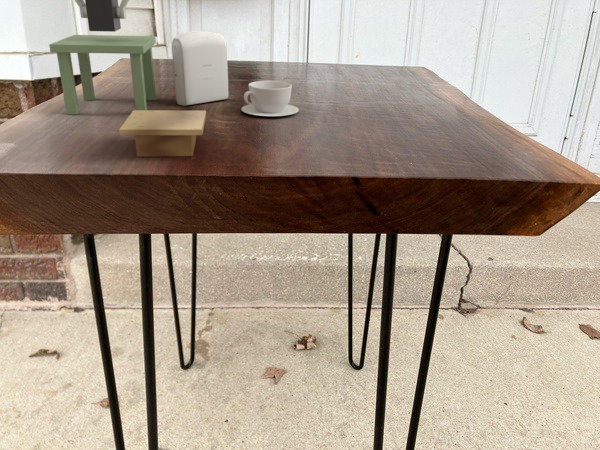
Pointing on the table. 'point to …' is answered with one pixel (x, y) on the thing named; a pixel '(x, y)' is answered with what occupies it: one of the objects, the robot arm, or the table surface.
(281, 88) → the teacup
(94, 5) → the black block
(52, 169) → the table surface
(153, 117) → the low shelf
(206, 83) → the photo printer
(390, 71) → the table surface
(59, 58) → the high shelf
